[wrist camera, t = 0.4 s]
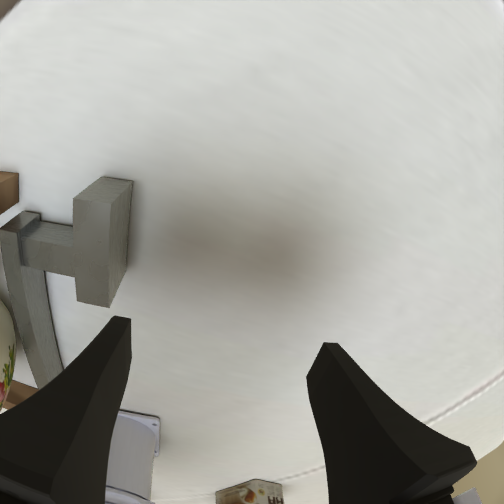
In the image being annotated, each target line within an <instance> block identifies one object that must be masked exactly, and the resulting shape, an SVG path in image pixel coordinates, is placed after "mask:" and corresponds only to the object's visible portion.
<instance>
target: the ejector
mask: <svg viewBox="0 0 504 504" xmlns="http://www.w3.org/2000/svg"><path fill="white" fill-rule="evenodd" d="M132 183H133V181H127V180H120V179H113V178H106V177H100V178H99V179H98V180H96V181H95V182H94V183H92V184H91V185H90V186H88V187H87V188H86V189H85V190H83V191H82V192H81V193H79V194H78V195H77V196H76V197H74V198H73V227H71V226H65V225H59V224H54V223H48V222H42V221H40V218H39V214H36V213H30V212H24V211H22V212H21V213H19V214H18V215H17V216H15V217H14V218H13V219H11V220H10V221H9V222H7V223H6V224H5V225H4V226H2V227H1V228H0V245H1V252H2V259H3V265H4V271H5V276H6V281H7V286H8V291H9V295H10V300H11V304H12V308H13V312H14V316H15V320H16V324H17V327H18V331H19V334H20V338H21V341H22V344H23V347H24V350H25V354H26V357H27V359H28V362H29V365H30V368H31V371H32V374H33V376H34V379H35V382H36V384H37V387H38V389H39V390H40V389H41V388H42V387H44V386H45V385H46V384H48V383H49V382H50V381H51V380H53V379H54V378H55V377H56V376H57V375H59V374H60V373H61V372H62V371H63V369H62V365H61V361H60V357H59V353H58V349H57V345H56V340H55V336H54V331H53V326H52V321H51V316H50V310H49V305H48V298H47V292H46V285H45V277H44V271H48V272H52V273H57V274H61V275H66V276H71V277H75V284H76V296H77V301H79V302H83V303H88V304H92V305H97V306H102V307H107V308H110V305H111V303H112V301H113V298H114V296H115V294H116V292H117V289H118V287H119V285H120V283H121V281H122V278H123V276H124V274H125V272H126V259H127V240H128V226H129V213H130V202H131V193H132Z"/></svg>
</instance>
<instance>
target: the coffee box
mask: <svg viewBox="0 0 504 504" xmlns="http://www.w3.org/2000/svg"><path fill="white" fill-rule="evenodd" d="M216 504H284V500H283V493H282V486H281V485H280V484H275V483H270V482H266V481H261V480H257V479H256V480H252V481H249V482H246V483H243V484H240V485H237V486H234V487H231V488H228V489H224V490H221V491H218V492H216Z"/></svg>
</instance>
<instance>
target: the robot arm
mask: <svg viewBox="0 0 504 504" xmlns="http://www.w3.org/2000/svg"><path fill="white" fill-rule="evenodd" d="M131 359H132V351H131V319H130V318H124V317H119V316H114V317H112V318H111V319H110V321H109V322H108V323H107V324H106V326H105V327H104V328H103V329H102V330H101V332H100V333H99V334H98V335H97V336H96V337H95V338H94V340H93V341H92V342H91V343H90V344H89V345H88V346H87V347H86V348H85V349H84V350H83V352H82V353H81V354H80V355H79V356H78V357H77V358H76V359H75V360H73V361H72V362H71V363H70V364H69V365H68V366H67V367H66V368H65V369H64V370H63V371H62V372H61V373H60V374H59V375H57V376H56V377H55V378H54V379H53V380H51V381H50V382H49V383H48V384H46V385H45V386H44V387H42V388H41V389H40V390H38V391H37V392H36V393H34V394H33V395H32V396H30V397H29V398H27V399H26V400H24V401H22V402H21V403H19V404H17V405H16V406H14V407H12V408H10V409H9V410H7V411H5V412H3V413H2V414H0V504H155V503H154V502H150V498H151V483H152V470H153V459H154V456H159V431H160V420H159V419H158V418H156V417H151V416H145V415H139V414H134V413H129V412H124V411H119V408H120V405H121V401H122V398H123V395H124V391H125V388H126V384H127V381H128V375H129V370H130V364H131ZM306 379H307V387H308V395H309V400H310V404H311V408H312V412H313V415H314V419H315V422H316V426H317V429H318V433H319V436H320V440H321V444H322V448H323V452H324V458H325V465H326V472H327V482H328V493H329V504H482V502H481V500H480V498H479V495H478V493H477V491H476V489H475V488H472V489H470V490H468V491H466V492H464V493H462V494H460V495H458V496H456V497H455V498H453V499H452V498H451V495H450V494H452V493H453V492H454V489H453V487H452V485H453V484H454V483H456V482H457V481H458V480H460V479H461V478H462V477H464V476H465V475H466V474H468V473H469V472H470V471H471V470H472V469H473V468H474V467H475V466H476V464H477V461H476V459H475V457H474V455H473V453H472V451H471V449H470V447H469V446H466V445H464V444H461V443H459V442H457V441H454V440H452V439H450V438H448V437H446V436H444V435H442V434H440V433H438V432H436V431H434V430H433V429H431V428H429V427H428V426H426V425H425V424H423V423H422V422H420V421H419V420H417V419H416V418H414V417H413V416H412V415H410V414H409V413H408V412H406V411H405V410H404V409H403V408H401V407H400V406H399V405H398V404H396V403H395V402H394V401H393V400H392V399H391V398H390V397H389V396H388V395H387V394H386V393H384V392H383V391H382V390H381V389H380V388H379V387H378V386H377V385H376V384H375V383H374V382H373V381H372V380H371V379H370V377H369V376H368V375H367V374H366V373H365V372H364V371H363V370H362V369H361V368H360V367H359V366H358V364H357V363H356V362H355V361H354V360H353V359H352V358H351V357H350V356H349V355H348V353H347V352H346V351H345V350H344V349H343V348H342V347H341V346H340V345H339V344H338V343H327V342H324V343H323V345H322V347H321V349H320V351H319V353H318V355H317V357H316V359H315V361H314V363H313V365H312V367H311V369H310V370H309V372H308V374H307V376H306Z"/></svg>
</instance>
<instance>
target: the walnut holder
mask: <svg viewBox="0 0 504 504" xmlns="http://www.w3.org/2000/svg"><path fill="white" fill-rule="evenodd" d="M18 202H19V190H18V173H10V172H0V215H1V214H2V213H4V212H5V211H6V210H8V209H9V208H11V207H12V206H14V205H15V204H16V203H18ZM38 390H39V389H36V388H33V387H30V386H27V385H24V384H22V383H19V382H16V381H14V380H12V382H11V385H10V389H9V392H8V395H7V398H6V400H5V403H4V405H3V408H5V409H8V410H9V409H10V408H12V407H14V406H16V405H17V404H19V403H21V402H22V401H24V400H26V399H27V398H29V397H30V396H32V395H33V394H34V393H36V392H37V391H38Z"/></svg>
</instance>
